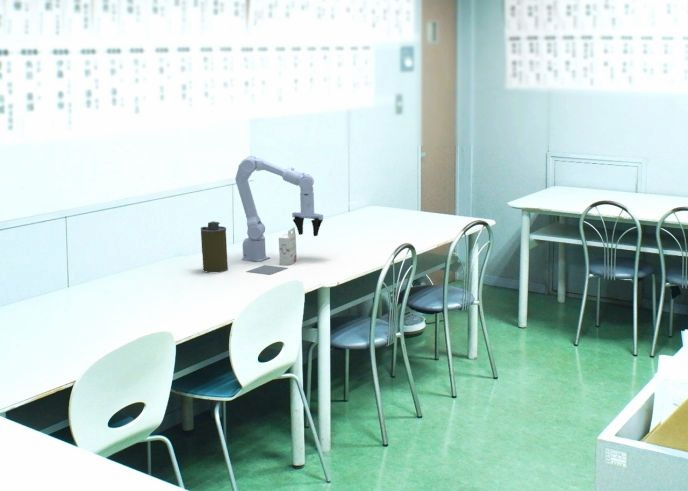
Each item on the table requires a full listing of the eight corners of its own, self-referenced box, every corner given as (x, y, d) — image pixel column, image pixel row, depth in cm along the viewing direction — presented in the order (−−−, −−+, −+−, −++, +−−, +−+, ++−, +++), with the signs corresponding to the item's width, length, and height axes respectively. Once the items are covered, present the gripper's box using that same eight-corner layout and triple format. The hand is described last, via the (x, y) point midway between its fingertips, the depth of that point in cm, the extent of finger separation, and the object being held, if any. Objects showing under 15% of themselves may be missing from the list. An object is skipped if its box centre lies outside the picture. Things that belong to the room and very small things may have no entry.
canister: (233, 268, 409) (230, 220, 405) (218, 273, 400) (216, 225, 396) (211, 266, 414) (209, 219, 410) (196, 271, 406) (194, 223, 401)
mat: (246, 272, 402) (246, 271, 402) (264, 266, 413) (264, 265, 413) (270, 275, 396) (270, 274, 396) (288, 269, 407) (288, 267, 407)
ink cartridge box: (286, 260, 422) (284, 226, 419) (297, 260, 420) (295, 226, 418) (279, 264, 414) (277, 230, 411) (290, 265, 412) (289, 230, 409)
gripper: (287, 203, 419) (288, 235, 422) (316, 206, 412) (317, 238, 414) (297, 201, 425) (298, 232, 428) (325, 203, 417) (326, 235, 420)
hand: (308, 235), depth 421 cm, fingers open, 7 cm apart
